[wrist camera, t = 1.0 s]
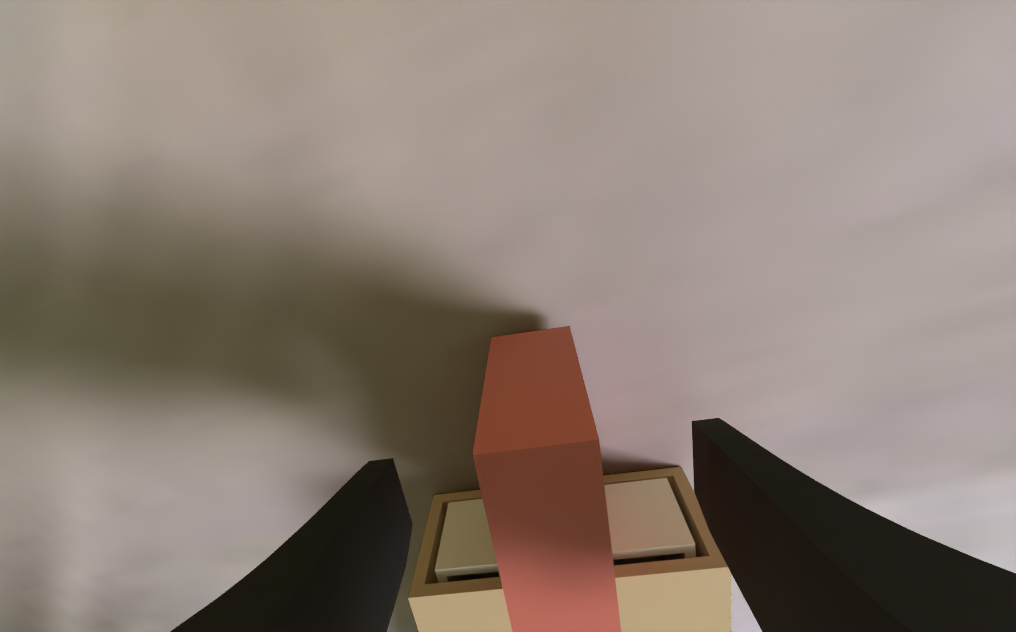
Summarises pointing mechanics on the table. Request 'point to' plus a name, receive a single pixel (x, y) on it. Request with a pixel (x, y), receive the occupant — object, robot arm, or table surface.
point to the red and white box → (552, 497)
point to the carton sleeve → (640, 587)
